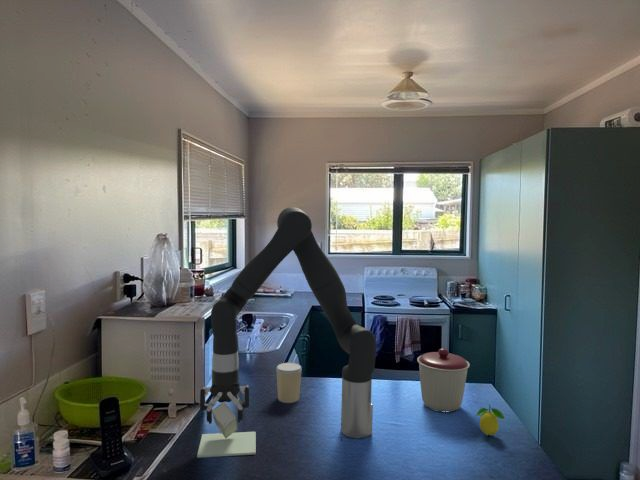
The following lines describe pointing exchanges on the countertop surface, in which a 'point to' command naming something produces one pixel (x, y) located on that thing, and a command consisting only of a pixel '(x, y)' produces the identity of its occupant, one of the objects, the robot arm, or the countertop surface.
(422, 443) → the countertop surface
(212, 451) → the mat
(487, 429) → the lemon
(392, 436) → the countertop surface
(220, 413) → the skincare box
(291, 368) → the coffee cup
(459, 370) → the canister
